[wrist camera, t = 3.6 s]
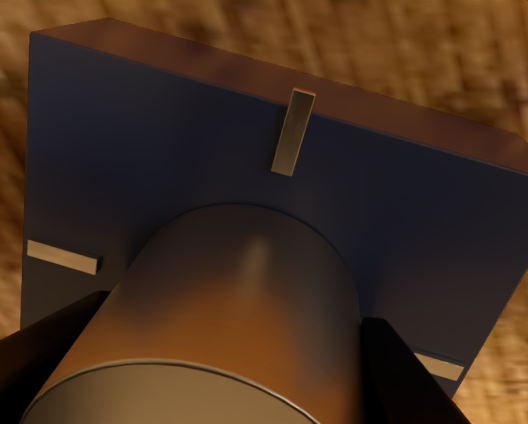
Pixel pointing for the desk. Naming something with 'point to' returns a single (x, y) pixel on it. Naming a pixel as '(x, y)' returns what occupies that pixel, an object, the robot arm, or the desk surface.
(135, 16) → the desk surface
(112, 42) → the dial panel
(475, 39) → the desk surface
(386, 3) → the desk surface
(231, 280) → the dial
